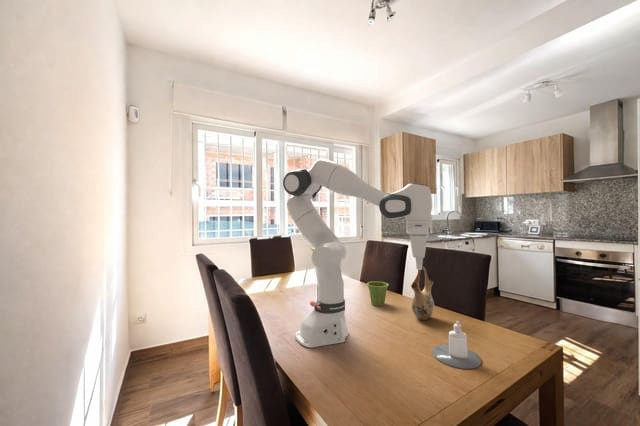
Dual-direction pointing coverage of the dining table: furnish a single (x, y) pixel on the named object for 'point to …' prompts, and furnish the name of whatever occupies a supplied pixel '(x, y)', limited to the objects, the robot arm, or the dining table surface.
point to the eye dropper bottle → (458, 342)
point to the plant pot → (377, 292)
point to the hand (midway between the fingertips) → (419, 266)
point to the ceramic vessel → (422, 298)
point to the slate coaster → (444, 357)
